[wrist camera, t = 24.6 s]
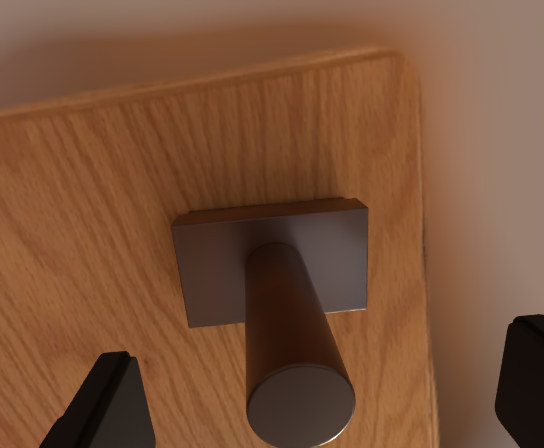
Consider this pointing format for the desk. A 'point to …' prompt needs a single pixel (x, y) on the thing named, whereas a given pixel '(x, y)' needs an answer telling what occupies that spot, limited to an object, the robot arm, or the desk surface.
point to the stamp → (281, 304)
